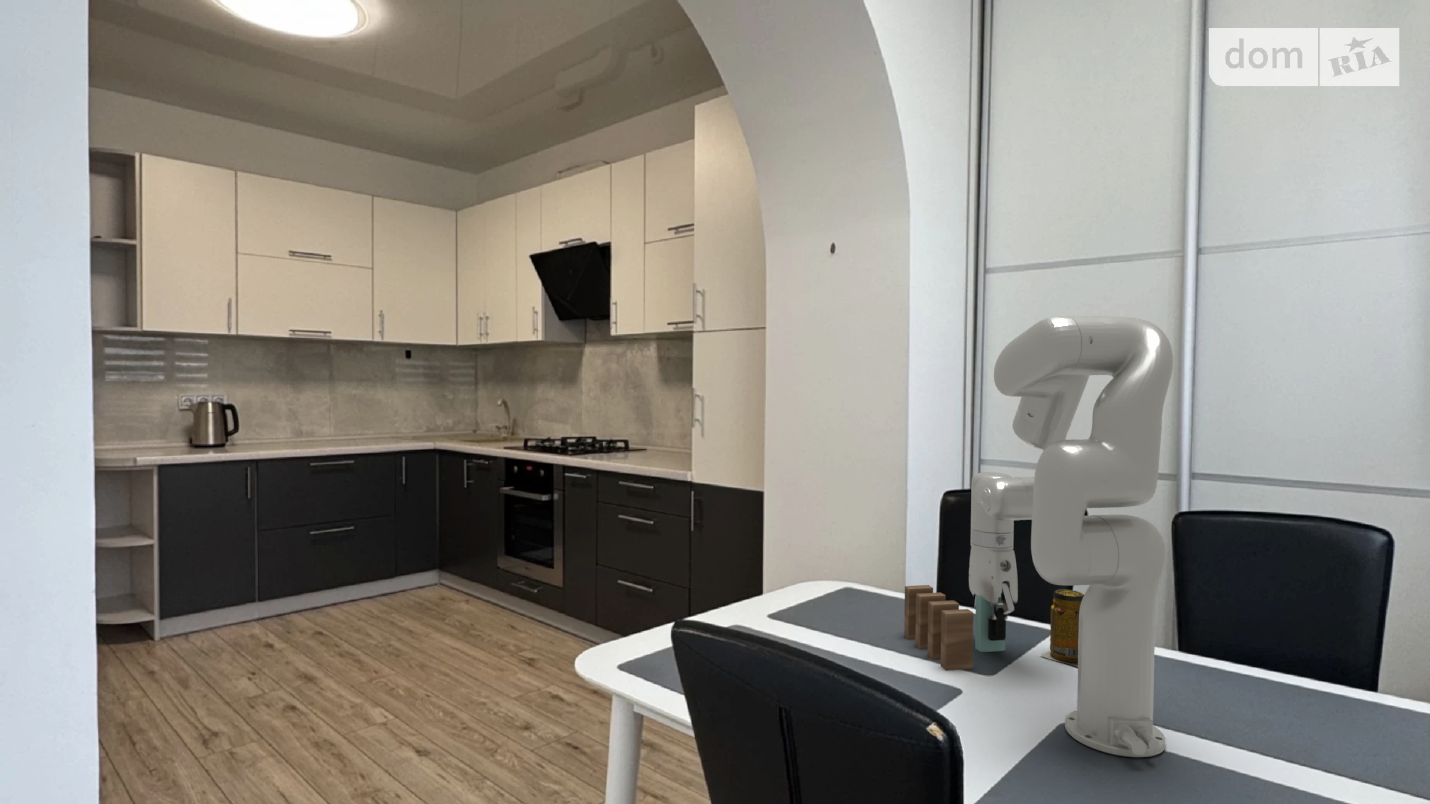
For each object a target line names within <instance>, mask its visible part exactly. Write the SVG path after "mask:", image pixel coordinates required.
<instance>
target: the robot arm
mask: <svg viewBox="0 0 1430 804" xmlns="http://www.w3.org/2000/svg"><path fill="white" fill-rule="evenodd" d="M1173 367H1174V355H1173V348H1172V346H1171V343H1170V340H1169V338H1168V337H1167V335H1166V333H1165V332H1164V331H1163V330H1162V329H1161V328H1160V327H1159V326H1158V325H1156V324H1154V323H1152V322H1150V321H1148V320H1145V319H1140V318H1136V317H1135V318H1134V317H1128V316H1127V317H1126V316H1109V315H1108V316H1106V315H1105V316H1103V315H1102V316H1101V315H1100V316H1099V315H1098V316H1095V315H1094V316H1092V315H1091V316H1088V315H1087V316H1085V315H1084V316H1081V315H1080V316H1079V315H1077V316H1075V315H1063V316H1062V315H1056V316H1049V317H1046V318H1043V319H1041V320H1039V321H1037V322H1035V323H1034V324H1033V325H1031V326H1030V327H1029V328H1027V329H1026V330H1025V331H1023V332H1022V333H1020V334H1019V335H1018V336H1016V337H1015V338H1013V339H1012V340H1011V341H1010V342H1008V343H1007V345H1006V346H1004V348H1003V349H1002V350H1001V352H1000V353H999V355H998V357H997V359H996V361H995V364H994V369H993V382H994V384H995V387H996V389H997V390H998V392H999V393H1001V394H1002V395H1004V396H1007V397H1011V398H1012V397H1017V398H1018V397H1020V399H1019V403H1018V407H1017V409H1016V412H1015V415H1014V418H1013V420H1012V430H1013V432H1014V434H1015V435H1016V436H1017V437H1018V439H1020V440H1022V442H1024V443H1026V444H1027V445H1029V446H1031V447H1034V448H1035V449H1038V450H1040V451H1042V452H1041V453H1040V455H1039V458H1038V460H1037V463H1036V466H1035V472H1034V476H1021V477H1017V476H1015V477H1012V476H1011V475H1010V474H1008V473H1003V472H994V471H993V472H991V471H990V472H988V471H987V472H978V473H975V474H974V475H973V476H972V478H971V488H970V489H971V494H970V495H971V498H970V500H971V501H970V503H971V504H970V507H971V508H970V510H971V511H970V555H969V565H968V566H969V567H968V588H969V591H970V592H971V594H972V598H973V600H974V610H975V611H976V596H980V597H982V598H984V599H985V600H987V601H988V602H990V614H991V619H989V620H988V639H989V640H990V641H998V640H1005V641H1006V635H1007V633H1006V632H1007V628H1006V627H1007V620H1008V618H1009V617H1008V616H1009V614H1010V613H1012V612H1014V611H1015V606H1014V604H1017V603H1018V598H1019V596H1018V595H1019V593H1018V592H1019V587H1018V586H1019V584H1018V569H1017V561H1016V553H1015V550H1014V535H1015V534H1014V533H1015V532H1014V530H1015V529H1014V527H1015V526H1014V525H1015V523H1014V522H1015V521H1021V520H1022V521H1027V520H1030V521H1031V529H1030V530H1031V534H1030V550H1031V557H1032V558H1031V559H1032V563H1033V566H1034V567H1035V570H1036V571H1037V573H1038V574H1039V576H1040V577H1041V578H1042V580H1044V581H1046V582H1048V583H1049V584H1052V585H1057V586H1067V587H1068V586H1088V587H1087V589H1086V590H1085V592H1084V597H1083V599H1082V602H1081V605H1080V611H1079V638H1078V667H1077V690H1076V691H1077V692H1076V693H1077V694H1076V695H1077V699H1076V701H1077V702H1076V710H1075V711H1073V712H1070V713H1068V714H1067V715H1066V716H1065V719H1064V727H1065V730H1066V732H1067V733H1068V734H1069V735H1070V736H1071V737H1072V738H1073V739H1074V740H1076V741H1078V743H1081V744H1082V745H1084V746H1085V747H1086V746H1087V747H1088V748H1089V747H1090V748H1091V749H1095V750H1097V751H1100V752H1103V753H1107V754H1110V755H1114V756H1120V757H1127V758H1128V757H1129V758H1145V757H1146V758H1147V757H1148V758H1149V757H1153V756H1157V755H1159V754H1161V753H1163V751H1165V749H1166V737H1165V735H1164V733H1163V732H1162V731H1161V730H1160V729H1159V728H1158V727H1156V726H1154V691H1155V690H1154V689H1155V688H1154V685H1155V682H1154V681H1155V650H1156V649H1155V646H1156V645H1155V643H1156V642H1155V641H1156V640H1155V639H1156V617H1157V616H1156V615H1157V603H1158V601H1157V599H1158V594H1159V587H1160V585H1161V580H1162V575H1163V572H1164V568H1165V565H1166V557H1167V555H1166V554H1167V553H1166V545H1165V541H1164V540H1165V539H1164V538H1163V536H1162V533H1161V532H1160V531H1159V530H1158V528H1157V527H1156V526H1155V525H1154V524H1153V523H1151V522H1149V521H1148V520H1146V519H1144V518H1142V517H1139V516H1134V515H1129V514H1095V515H1094V514H1093V515H1085V513H1086V510H1087V509H1103V508H1104V509H1106V508H1108V509H1109V508H1111V509H1112V508H1113V509H1114V508H1128V507H1137V506H1142V505H1145V504H1147V503H1148V502H1149V501H1150V500H1152V499H1153V497H1154V496H1155V493H1156V489H1157V485H1158V480H1159V479H1158V478H1159V469H1160V468H1159V467H1160V453H1161V443H1162V441H1161V440H1162V428H1163V427H1162V425H1163V414H1164V413H1163V412H1164V406H1165V405H1164V404H1165V401H1166V396H1167V392H1168V389H1169V386H1170V382H1171V378H1172V374H1173ZM1090 376H1111V377H1112V379H1111V380H1110V381H1109V382H1107V384H1106V385H1105V386H1104V388H1103V389H1102V390H1101V392H1100V394H1099V395H1098V397H1097V398H1096V400H1095V403H1094V404H1093V409H1092V418H1091V419H1092V421H1091V423H1092V424H1091V431H1090V436H1089V437H1088V438H1087V439H1085V438H1084V439H1066V438H1067V435H1068V432H1069V430H1070V428H1071V426H1072V422H1073V420H1074V417H1075V415H1076V412H1077V410H1078V407H1079V404H1080V402H1081V399H1082V396H1083V394H1084V392H1085V389H1086V386H1087V383H1088V381H1089V378H1090ZM998 599H1001V602H999V601H998ZM996 606H1001V608H998V609H997V611H996Z"/></svg>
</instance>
